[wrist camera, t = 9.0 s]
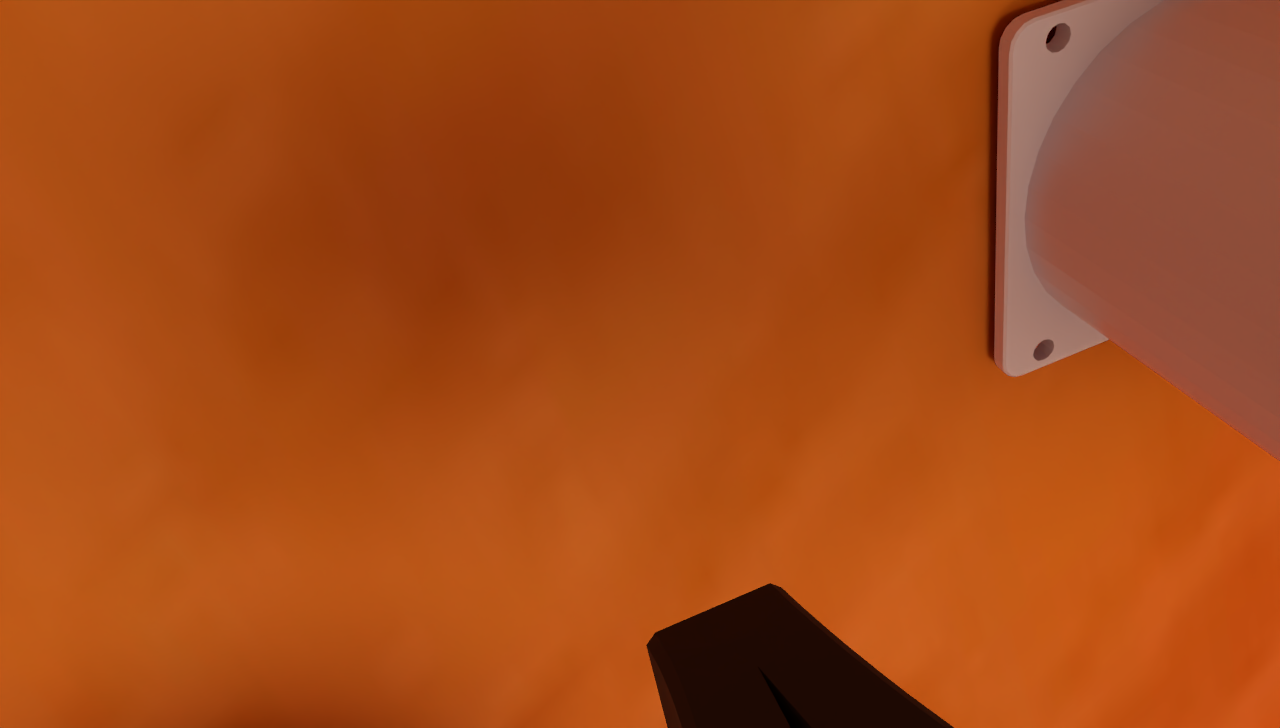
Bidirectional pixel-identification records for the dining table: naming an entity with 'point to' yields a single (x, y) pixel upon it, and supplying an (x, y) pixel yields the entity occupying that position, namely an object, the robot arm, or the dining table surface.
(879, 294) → the dining table surface
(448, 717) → the dining table surface
